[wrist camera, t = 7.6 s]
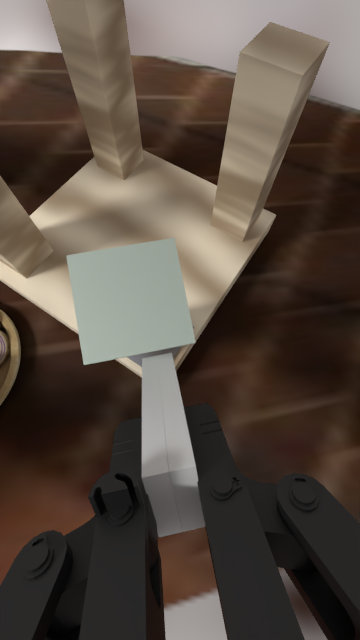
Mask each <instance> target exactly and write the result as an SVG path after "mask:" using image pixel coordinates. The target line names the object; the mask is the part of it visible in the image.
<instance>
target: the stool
mask: <svg viewBox="0 0 360 640" xmlns="http://www.w3.org/2000/svg"><path fill="white" fill-rule="evenodd" d="M46 1H47V4H48V8H49V11H50V14H51V17H52V20H53V24H54V27H55V30H56V33H57V36H58V40H59V43H60V46H61V50H62V53H63V56H64V59H65V63H66V66H67V69H68V72H69V75H70V79H71V82H72V85H73V88H74V92H75V95H76V98H77V101H78V105H79V108H80V111H81V114H82V118H83V121H84V124H85V127H86V130H87V134H88V137H89V140H90V143H91V147H92V150H93V153H94V157H93V158H92V159H91V160H90V161H89V162H88V163H87V164H86V165H85V166H84V167H82V168H81V169H80V170H79V171H78V172H77V173H76V174H75V175H74V176H73V177H72V178H70V179H69V180H68V181H67V182H66V183H65V184H64V185H63V186H62V187H61V188H60V189H59V190H57V191H56V192H55V193H54V194H53V195H52V196H51V197H50V198H49V199H48V200H47V201H45V202H44V203H43V204H42V205H41V206H40V207H39V208H38V209H37V210H36V211H35V212H33V213H32V214H31V215H30V216H29V215H28V214H27V212H26V211H25V210H24V208H23V207H22V205H21V204H20V203H19V201H18V200H17V198H16V197H15V196H14V194H13V193H12V191H11V190H10V189H9V187H8V186H7V184H6V183H5V182H4V180H3V179H2V177H1V176H0V281H2V282H3V283H4V284H6V285H7V286H9V287H10V288H12V289H13V290H15V291H16V292H18V293H19V294H20V295H22V296H23V297H25V298H26V299H28V300H29V301H31V302H32V303H34V304H35V305H37V306H38V307H39V308H41V309H42V310H44V311H45V312H47V313H48V314H50V315H51V316H53V317H54V318H55V319H57V320H58V321H60V322H61V323H63V324H64V325H66V326H67V327H69V328H70V329H71V330H73V331H74V332H76V333H77V334H79V332H78V326H77V320H76V313H75V307H74V301H73V295H72V288H71V282H70V276H69V270H68V263H67V257H66V255H72V254H78V253H84V252H90V251H96V250H102V249H109V248H115V247H121V246H127V245H133V244H139V243H145V242H151V241H157V240H163V239H169V238H175V243H176V248H177V253H178V258H179V263H180V267H181V272H182V277H183V282H184V287H185V292H186V297H187V302H188V307H189V312H190V317H191V322H192V327H193V331H194V336H195V341H197V339H198V338H199V336H200V335H201V333H202V332H203V330H204V329H205V327H206V326H207V324H208V323H209V321H210V319H211V318H212V316H213V315H214V313H215V312H216V310H217V309H218V307H219V306H220V304H221V303H222V301H223V300H224V298H225V297H226V295H227V294H228V292H229V291H230V289H231V288H232V286H233V285H234V283H235V282H236V280H237V279H238V277H239V276H240V274H241V273H242V271H243V269H244V268H245V266H246V265H247V263H248V262H249V260H250V259H251V257H252V256H253V254H254V253H255V251H256V250H257V248H258V247H259V245H260V244H261V242H262V241H263V239H264V238H265V236H266V235H267V233H268V232H269V229H270V227H271V225H272V223H273V221H274V219H275V217H276V214H273V213H271V212H269V211H267V210H265V209H263V207H264V205H265V202H266V200H267V197H268V195H269V192H270V190H271V187H272V185H273V182H274V180H275V177H276V175H277V172H278V170H279V168H280V165H281V163H282V160H283V158H284V155H285V153H286V150H287V148H288V145H289V143H290V140H291V138H292V135H293V133H294V130H295V128H296V125H297V123H298V120H299V118H300V115H301V113H302V110H303V108H304V105H305V103H306V100H307V98H308V95H309V93H310V90H311V88H312V85H313V83H314V80H315V78H316V75H317V73H318V70H319V68H320V65H321V63H322V60H323V58H324V55H325V53H326V50H327V48H328V45H329V43H330V42H327V41H325V40H322V39H319V38H316V37H313V36H310V35H307V34H304V33H301V32H298V31H295V30H292V29H289V28H286V27H283V26H280V25H277V24H275V23H272V22H270V23H269V24H268V25H267V26H266V27H265V28H264V29H263V30H262V31H261V32H260V33H259V34H258V35H257V36H256V37H255V38H254V39H253V40H252V41H251V42H250V43H249V44H248V45H247V46H246V47H245V48H243V49H242V50H241V51H240V55H239V61H238V67H237V72H236V78H235V84H234V90H233V96H232V102H231V108H230V114H229V119H228V125H227V131H226V137H225V143H224V149H223V155H222V161H221V167H220V172H219V178H218V184H217V186H216V185H214V184H212V183H210V182H208V181H206V180H204V179H202V178H200V177H198V176H196V175H194V174H192V173H190V172H187V171H185V170H183V169H181V168H179V167H177V166H175V165H173V164H171V163H169V162H167V161H165V160H163V159H161V158H159V157H157V156H155V155H153V154H151V153H149V152H146V151H144V150H142V143H141V135H140V127H139V119H138V111H137V103H136V95H135V87H134V79H133V72H132V64H131V56H130V48H129V40H128V32H127V24H126V16H125V8H124V1H123V0H46ZM194 344H195V343H192V344H188V345H184V346H179V347H174V348H169V349H164V350H159V351H154V352H149V353H144V354H139V355H134V356H129V357H124V358H119V359H115V360H117V361H118V362H120V363H121V364H122V365H124V366H125V367H127V368H128V369H130V370H131V371H133V372H134V373H136V374H137V375H139V376H140V377H141V378H142V358H147V357H152V356H157V355H162V354H167V353H172V356H173V360H174V365H175V370H176V371H177V370H178V368H179V366H180V365H181V363H182V362H183V360H184V359H185V357H186V356H187V354H188V353H189V351H190V350H191V348H192V347H193V345H194Z"/></svg>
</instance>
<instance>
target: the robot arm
mask: <svg viewBox="0 0 360 640" xmlns="http://www.w3.org/2000/svg"><path fill="white" fill-rule="evenodd" d="M88 498H89V500H90V503H91V505H92V507H93V510H94V512H95V514H96V515H95V516H94V517H93V518H92V519H91V520H90V521H88V522H87V523H85V524H84V525H82V526H81V527H79V528H77V529H75V530H74V531H72V532H70V533H68V534H67V535H65V536H63V535H62V533H60V532H57V531H54V530H52V531H47V532H43V533H41V534H39V535H38V536H36V537H34V538H33V539H32V540H31V541H29V542H28V543H27V544H26V545H25V546H24V547H23V548H22V550H21V551H20V553H19V554H18V556H17V557H16V558H15V560H14V562H13V564H12V566H11V567H10V569H9V571H8V573H7V575H6V577H5V578H4V580H3V582H2V584H1V586H0V640H165V623H164V604H163V587H162V569H161V558H160V554H159V550H158V540H157V532H158V535H159V537H163V536H167V535H171V534H175V533H180V532H184V531H188V530H192V529H197V528H201V527H206V532H207V537H208V542H209V547H210V553H211V559H212V563H213V568H214V573H215V578H216V583H217V588H218V593H219V598H220V603H221V608H222V614H223V619H224V624H225V629H226V634H227V639H228V640H304V637H303V634H302V632H301V629H300V626H299V624H298V621H297V618H296V616H295V613H294V610H293V608H292V605H291V603H290V600H289V597H288V595H287V592H286V589H285V586H284V584H283V581H282V578H281V576H280V573H279V570H278V568H277V567H281V568H284V569H285V571H286V573H287V574H288V576H289V577H290V579H291V581H292V582H293V584H294V585H295V587H296V589H297V590H298V592H299V594H300V595H301V597H302V599H303V600H304V602H305V603H306V605H307V607H308V608H309V610H310V612H311V613H312V615H313V616H314V618H315V620H316V621H317V623H318V625H319V626H320V628H321V629H322V631H323V633H324V634H325V636H326V638H327V639H328V640H360V524H359V523H358V522H357V521H356V520H355V518H354V517H353V516H352V515H351V514H350V513H349V512H348V511H347V510H346V509H345V508H344V507H343V506H342V505H341V504H340V503H339V502H338V501H337V500H336V499H335V498H334V497H333V496H332V494H331V493H330V492H329V491H328V490H327V489H326V488H325V487H324V486H323V485H322V484H320V483H319V482H318V481H317V480H315V479H314V478H312V477H309V476H307V475H304V474H296V473H293V474H290V475H286V476H285V477H283V478H282V479H281V480H280V481H279V484H270V483H261V482H256V481H253V480H251V479H249V478H247V477H245V476H244V475H243V474H242V473H241V472H240V471H239V470H238V469H237V467H236V465H235V463H234V461H233V458H232V455H231V452H230V450H229V447H228V444H227V442H226V439H225V436H224V433H223V431H222V428H221V425H220V423H219V420H218V417H217V414H216V412H215V410H214V409H213V408H212V407H211V406H210V405H209V404H208V403H204V404H199V405H194V406H190V407H185V408H183V403H182V398H181V393H180V389H179V384H178V379H177V375H176V370H175V365H174V360H173V356H172V353H167V354H162V355H157V356H152V357H147V358H142V417H141V418H136V419H131V420H126V421H121V422H120V424H119V426H118V427H117V429H116V431H115V432H114V440H113V448H112V456H111V464H110V471H109V472H108V473H106V474H105V475H103V476H102V477H101V478H99V479H98V480H97V482H96V483H95V484H94V486H93V487H92V489H91V491H90V494H89V497H88Z"/></svg>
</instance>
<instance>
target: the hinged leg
mask: <svg viewBox="0 0 360 640" xmlns="http://www.w3.org/2000/svg"><path fill="white" fill-rule="evenodd" d="M66 257H67V263H68V270H69V276H70V282H71V288H72V295H73V301H74V307H75V313H76V320H77V326H78V332H79V338H80V344H81V351H82V357H83V363H84V365H86V364H92V363H97V362H102V361H108V360H113V359H119V358H124V357H129V356H134V355H139V354H144V353H149V352H154V351H159V350H164V349H169V348H174V347H179V346H184V345H188V344H192V343H196V341H195V336H194V331H193V327H192V322H191V317H190V312H189V307H188V302H187V297H186V292H185V287H184V282H183V277H182V272H181V267H180V263H179V258H178V253H177V248H176V243H175V238H169V239H163V240H157V241H151V242H145V243H139V244H133V245H127V246H121V247H115V248H109V249H102V250H96V251H90V252H84V253H78V254H72V255H66Z"/></svg>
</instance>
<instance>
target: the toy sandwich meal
mask: <svg viewBox="0 0 360 640" xmlns="http://www.w3.org/2000/svg"><path fill="white" fill-rule="evenodd" d="M20 358H21V346H20V339H19V335H18V332H17V330H16V327H15V325H14V324H13V322H12V321H11V319H10V318H9V317H8V316H7V315H6V314H5V313H4V312H3V311H2V310H1V309H0V405H1V404H2V402H3V401H4V400H5V398H6V397H7V395H8V393H9V392H10V390H11V388H12V386H13V384H14V381H15V379H16V376H17V373H18V370H19V365H20Z"/></svg>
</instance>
